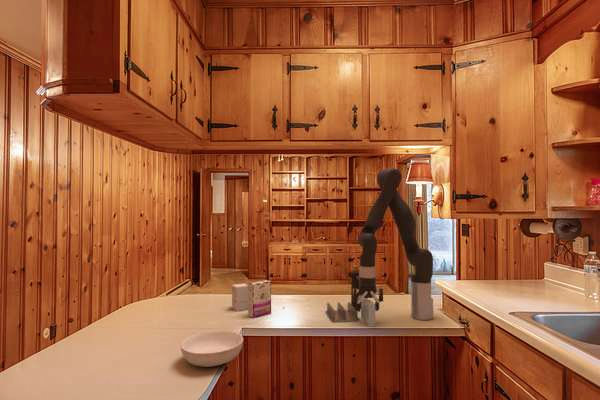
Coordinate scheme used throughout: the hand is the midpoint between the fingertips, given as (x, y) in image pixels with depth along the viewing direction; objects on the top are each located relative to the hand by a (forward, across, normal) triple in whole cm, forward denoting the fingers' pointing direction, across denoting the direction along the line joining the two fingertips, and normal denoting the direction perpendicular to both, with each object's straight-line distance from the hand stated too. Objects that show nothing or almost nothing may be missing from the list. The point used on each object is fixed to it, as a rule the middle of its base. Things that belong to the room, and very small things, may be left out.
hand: (367, 311), depth 159 cm
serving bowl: (+6, +66, +32) cm, 74 cm away
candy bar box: (+6, +50, -18) cm, 53 cm away
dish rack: (+5, +10, -10) cm, 15 cm away
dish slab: (+5, 0, 0) cm, 5 cm away
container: (+5, -3, -25) cm, 26 cm away
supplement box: (+6, +60, -30) cm, 67 cm away
